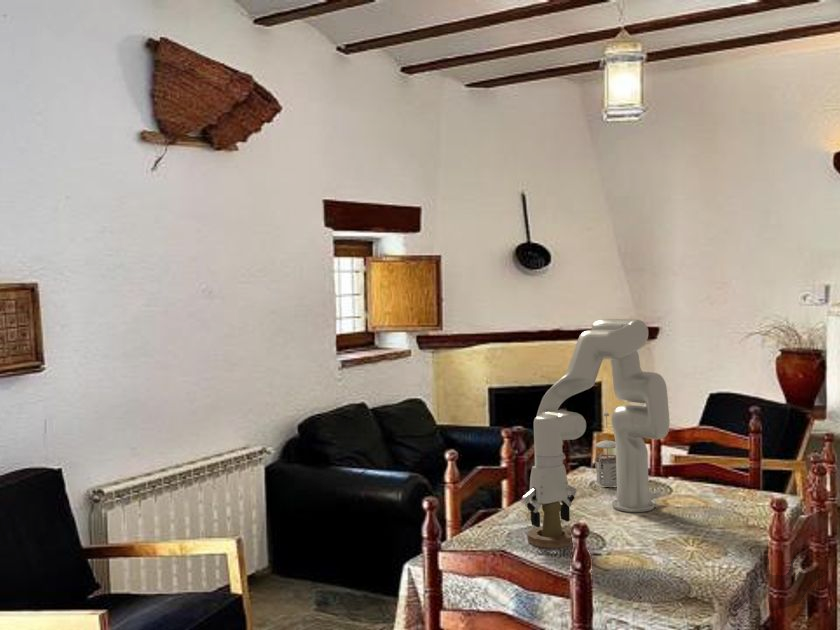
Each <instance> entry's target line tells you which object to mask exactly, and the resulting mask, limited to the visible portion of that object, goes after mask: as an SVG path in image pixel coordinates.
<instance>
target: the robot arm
mask: <svg viewBox="0 0 840 630" xmlns="http://www.w3.org/2000/svg"><path fill="white" fill-rule="evenodd" d="M648 339H649V328H648V326H647V324H646V323H645V322H644V321H643V320H641V319H636V318H635V319H634V318H604V319H603V318H602V319H598V320H596V321H594V322H593V324H592V325H591V329H588V330H585V331H582V332H581V334H579V337H578V338H577V342H576V343H575V347H574V350H573V353H572V356H571V359H570V361H569V364H568V367H567V369H566V373H565V374H564V375H563V376H562V377H561V378H560V379H558V380H557V381H556V382H555V383H554V384H553V385H552V386H551V387H550V388H549V389H547V391H546V392H545V394H544V395H543V396H542V398H541V401H540V404H539V406H538V409H537V413H536V417H534V419H533V442H534V443H533V444H534V446H533V447H534V448H533V449H534V465H533V466H531V472H530V477H529V491H528V492H526V493H525V494H524V495H523V496H521V500H522V502H523V503H524V506H525V507H526V508H527V509H528V511H530V522H531V525H532V526H534V527H535V528H537V527H541V514H540V512H539V510H540V508H542V505H544V504H550V503H555V502H560V504H561V510H560V512H559V514H560V520H561V521H562V520H563V521H565V522H570V516H571V515H570V507H571V506H572V502H574V500H575V496H576V493H577V488H575V487H574V486H572V485H569V484H568V477H567V471H566V467H565V464H564V463H563V462H564V461H563V460H565V459H566V455H565V454H563V441H565V440H567V441H568V440H577V439H580V437H582V436H583V435H584V434H585V432H586V429H587V422H586V419H585V418H584V416H583V415H582V414H580V413H578V412H573V411H566V410H558V409H559V408H560V406H561V405H562V404H563V403H564V402H565V401H566V400H567V399H569V398H571V397H572V396H575V395H577V394H579V393H583V392H584V391H586V390H589V389H591V388H592V387H593V386H594V385H595V384H596V381H597V378H598V376H599V375H598V374H599V372H600V368H601V365H602V363H603V361H604V360H610V363H611V374H612V375H611V376H612V383H613V384H612V385H613V386H612V387H613V392H614V395H615V397H616V398H617V399H618V400H619V401H622V402H627V403H637V404H645V406H643V405H633V404H624V405H623V404H622V405H619V406H617V407H616V408H615V409H614V411H612V414H611V427H612V431H613V435H614V442H615V444H616V448H615V455H616V474H617V488H616V499H614V500H613V501H612V503H611V506H612V508H613V509H615V510H617V511H621V512H626V513H627V512H628V513H644V512H649V511H651V510H654V509H655V503H654V502H653V500H654V499H658V498H661V496H662V494H661V491H653V492H652V491H651V490H649V453H648V448H647V444H646V443H645V441H644V439H649V440H661V439H664V438H666V437H667V435H668V433H669V431H670V425H671V424H670V411H669V410H670V409H669V408H670V406H669V398H668V387H667V383H666V380H665V379H664V377H663V376H662V375H661V374H659V373H657V372H654V371H653V372H651V371H643V370H642V368H641V362H640V361H641V360H640V355H639V350H640V349H641V348H642V347H643V346H645V344H646V343H647V341H648Z"/></svg>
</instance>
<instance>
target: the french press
mask: <svg viewBox="0 0 840 630" xmlns="http://www.w3.org/2000/svg"><path fill="white" fill-rule="evenodd" d="M609 416H610V413H609V412H604V413H603V417H605V419H606V424H605V425H606V427H608V417H609ZM594 446H595V447H596V448H598V449H604V450H605V449H606V454H605V452H604V451H602V452H600V450H598V451H597V453H596V454H595V458H594V466H595V470H596V481H595V482H594V483H595V484H596V485H599V486H605V487H613V486H617V474H616V454H609V450H610V449H616V444H615V440H614V441H613V440H609V439H605V440H601V441H598V442H597V443H596V444H595V445H594ZM598 454H599V455H598Z"/></svg>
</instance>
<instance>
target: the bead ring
mask: <svg viewBox="0 0 840 630" xmlns="http://www.w3.org/2000/svg"><path fill="white" fill-rule="evenodd" d="M561 527H562V533H563V536H560V537H542V528H543V525H542V526H540V527H533V528H531V529H530V530H528V531H527V534H526V535H527V537H526V538H527V541H528V544H530V543H531V544H530V545H532V546H534V545H535V546H534V547H538V546H539V548H547V549H554V548H555V549H558V548H564V547H568V546H571V544H572V537H571V530H572V529H570V528H567V527H564V526H561ZM572 545H573V544H572Z"/></svg>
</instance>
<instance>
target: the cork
mask: <svg viewBox="0 0 840 630" xmlns="http://www.w3.org/2000/svg"><path fill="white" fill-rule="evenodd" d="M561 505H562V503H561V502H555V503H550V504H544V505H541V510H542V511H543V521H542V526H543V528H542V537H560V536H563V533H562V527H563V526H562V522H561V521H562V520H561V514H560V510H561Z"/></svg>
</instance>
